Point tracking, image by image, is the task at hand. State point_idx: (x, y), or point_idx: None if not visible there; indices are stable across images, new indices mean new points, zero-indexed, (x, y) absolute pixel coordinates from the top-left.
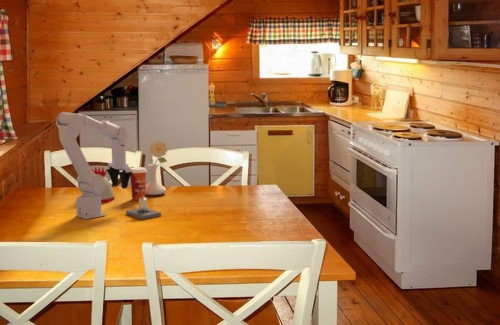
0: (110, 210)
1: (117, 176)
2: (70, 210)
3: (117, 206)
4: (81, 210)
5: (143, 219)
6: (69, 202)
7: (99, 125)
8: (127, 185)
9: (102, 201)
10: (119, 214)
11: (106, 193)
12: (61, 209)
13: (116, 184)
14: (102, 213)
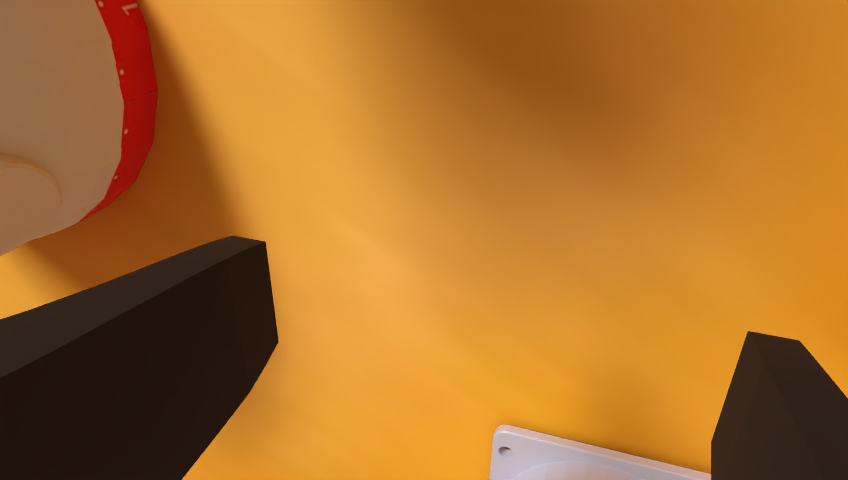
0: (550, 285)
1: (74, 371)
2: (274, 469)
3: (429, 87)
4: None
5: None
6: (4, 299)
7: None
8: (835, 390)
9: (140, 114)
10: (839, 357)
11: (36, 70)
12: (205, 476)
13: (261, 277)
14: (659, 477)
